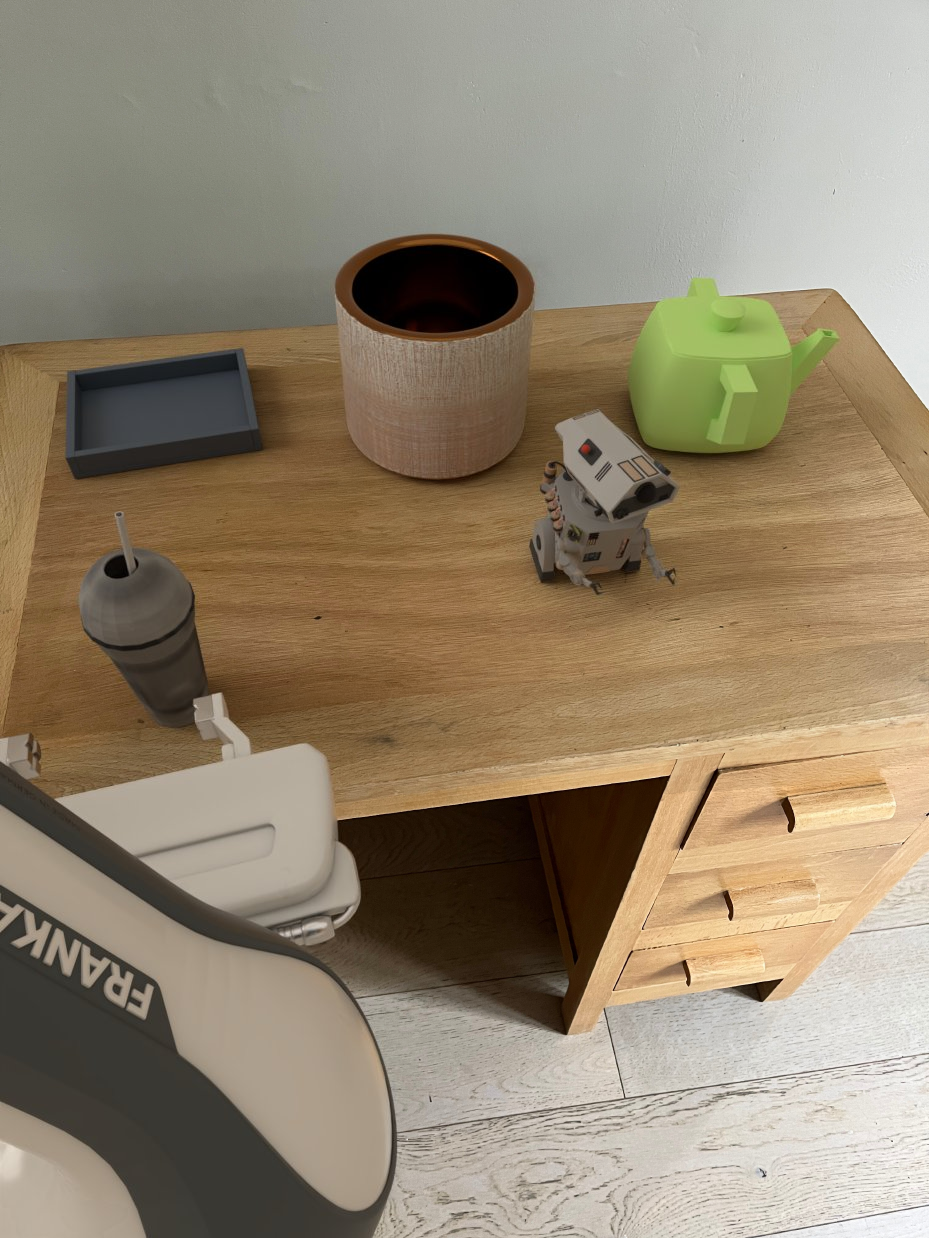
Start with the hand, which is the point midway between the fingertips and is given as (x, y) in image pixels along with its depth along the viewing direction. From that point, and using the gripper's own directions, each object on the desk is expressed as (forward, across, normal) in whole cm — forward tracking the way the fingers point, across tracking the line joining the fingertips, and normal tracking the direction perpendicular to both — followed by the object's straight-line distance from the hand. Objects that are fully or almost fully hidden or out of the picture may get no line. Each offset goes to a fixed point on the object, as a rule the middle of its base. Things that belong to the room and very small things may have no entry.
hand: (117, 720), depth 44 cm
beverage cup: (+13, 0, +18) cm, 22 cm away
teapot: (+34, -55, +18) cm, 67 cm away
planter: (+40, -27, +18) cm, 51 cm away
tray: (+47, -1, +17) cm, 50 cm away
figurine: (+17, -35, +18) cm, 43 cm away
